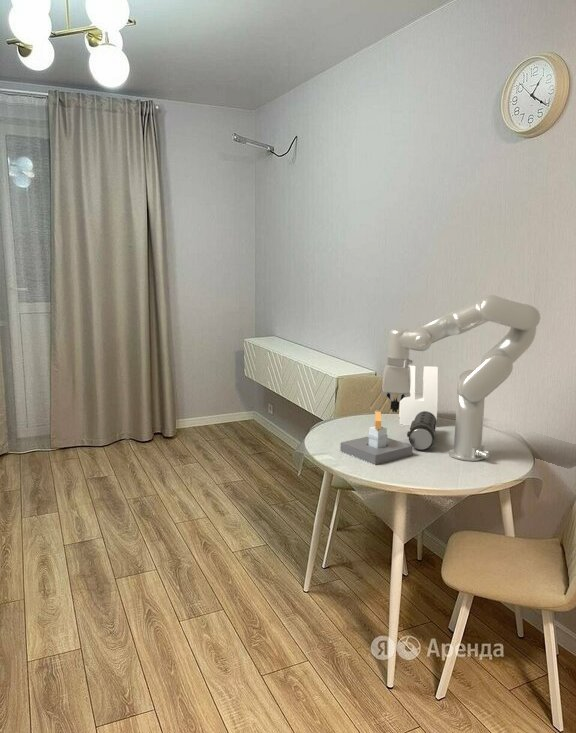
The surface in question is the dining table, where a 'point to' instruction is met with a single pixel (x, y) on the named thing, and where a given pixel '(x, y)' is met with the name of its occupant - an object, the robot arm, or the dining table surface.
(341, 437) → the dining table surface
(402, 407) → the white u-shaped block
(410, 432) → the muzzle brake
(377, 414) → the try square
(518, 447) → the dining table surface
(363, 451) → the socket block
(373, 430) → the plug
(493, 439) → the dining table surface
